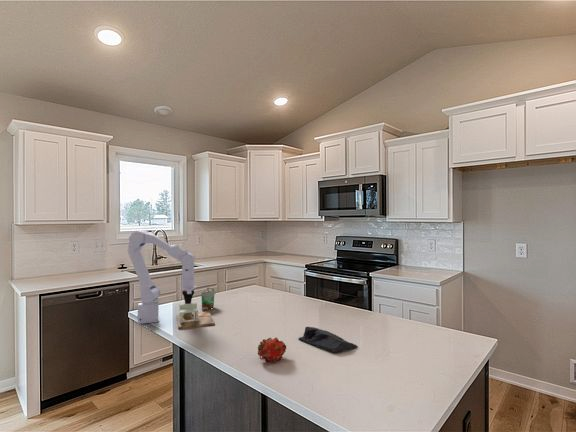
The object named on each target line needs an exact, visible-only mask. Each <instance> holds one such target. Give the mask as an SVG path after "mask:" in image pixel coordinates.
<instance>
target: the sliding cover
mask: <svg viewBox="0 0 576 432" xmlns="http://www.w3.org/2000/svg"><path fill="white" fill-rule="evenodd" d="M184 313H195V320H196V321H198V313H199V309H198V303H197V302H191V303H190V304H185V303H181V304H179V313H178V315H179V319H180V323H183V314H184Z"/></svg>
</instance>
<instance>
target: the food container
mask: <svg viewBox="0 0 576 432" xmlns="http://www.w3.org/2000/svg"><path fill="white" fill-rule="evenodd" d="M215 289H216V288H212V287H207V288H206V290H204V291H202V292H200V293H201V294H200V295H201V311H202V310H204V311H208V310H207V309H211V308H213V307H214V305H215V295H216V293H217V292H216V290H215ZM213 309H214V308H213ZM211 310H212V309H211Z"/></svg>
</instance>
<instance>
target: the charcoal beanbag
mask: <svg viewBox="0 0 576 432" xmlns="http://www.w3.org/2000/svg"><path fill="white" fill-rule="evenodd" d="M298 340H299V341H302V342H305V343H306V344H308V345H311V346H314V347H317V348H319V349H323V350H324V351H328V352H329V353H331V352H332V353H338V352H342V351H348V350H354V349H357V348H358V347H359V346H358V345H357V344H355V343H352V342H349V341H347V340H345V339H344V338H342V337H341V336H339V335H336V334H335V333H333V332H330V331H328V330H323V329H321V328H317V327H313V326H305V328H304V332H303V336H300V337H298Z"/></svg>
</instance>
